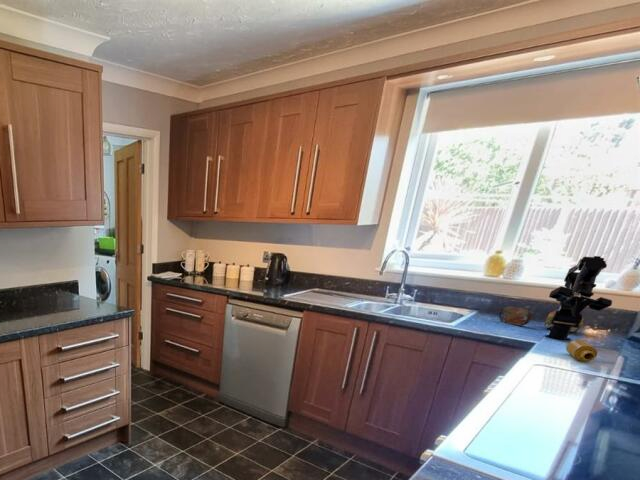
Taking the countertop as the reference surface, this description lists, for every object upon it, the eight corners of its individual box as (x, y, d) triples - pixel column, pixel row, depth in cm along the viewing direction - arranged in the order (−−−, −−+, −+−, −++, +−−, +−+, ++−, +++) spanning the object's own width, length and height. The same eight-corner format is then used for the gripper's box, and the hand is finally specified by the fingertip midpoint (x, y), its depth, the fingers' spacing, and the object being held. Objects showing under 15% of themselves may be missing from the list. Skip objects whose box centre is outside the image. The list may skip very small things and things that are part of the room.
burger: (565, 328, 215) (573, 308, 211) (587, 335, 202) (596, 314, 199) (535, 326, 217) (543, 306, 213) (555, 332, 204) (564, 312, 201)
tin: (496, 320, 227) (502, 304, 224) (501, 320, 227) (507, 304, 224) (523, 327, 213) (530, 310, 210) (529, 327, 213) (535, 310, 210)
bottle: (581, 336, 166) (594, 345, 154) (591, 349, 165) (605, 358, 154) (562, 345, 170) (573, 354, 158) (571, 357, 169) (583, 367, 157)
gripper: (593, 299, 183) (584, 330, 181) (544, 285, 188) (534, 316, 185) (617, 287, 172) (608, 320, 170) (564, 273, 177) (555, 305, 175)
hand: (574, 316), depth 175 cm, fingers closed
